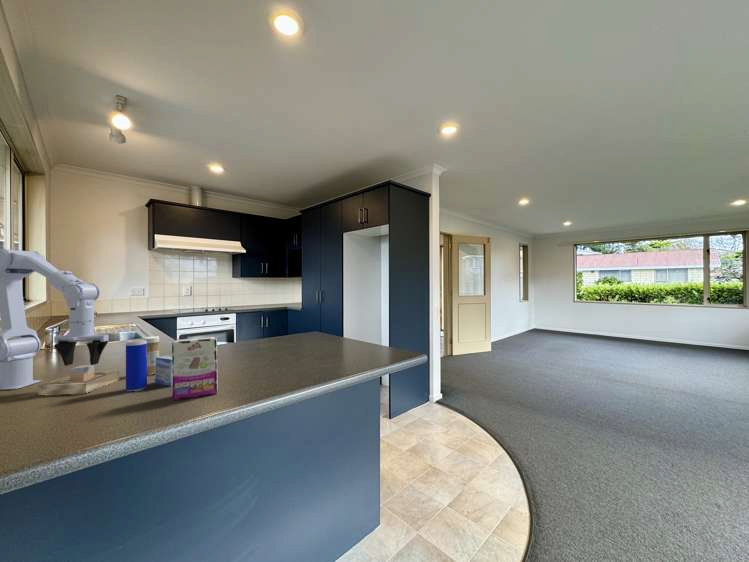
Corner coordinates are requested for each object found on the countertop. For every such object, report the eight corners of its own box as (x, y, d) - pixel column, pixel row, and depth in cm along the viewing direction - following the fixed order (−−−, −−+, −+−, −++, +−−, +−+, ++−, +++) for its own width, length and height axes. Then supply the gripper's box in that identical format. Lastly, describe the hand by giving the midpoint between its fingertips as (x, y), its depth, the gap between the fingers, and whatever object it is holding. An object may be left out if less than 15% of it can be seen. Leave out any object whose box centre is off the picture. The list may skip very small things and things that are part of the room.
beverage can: (150, 387, 95) (150, 339, 95) (133, 393, 90) (133, 342, 91) (139, 385, 97) (139, 338, 97) (121, 391, 92) (121, 341, 92)
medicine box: (154, 384, 99) (154, 357, 99) (168, 380, 103) (168, 354, 103) (171, 387, 96) (171, 359, 96) (184, 382, 100) (184, 356, 100)
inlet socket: (58, 390, 92) (58, 382, 92) (79, 382, 99) (79, 375, 99) (84, 389, 93) (84, 381, 93) (103, 382, 100) (103, 374, 100)
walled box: (38, 395, 89) (38, 385, 89) (77, 381, 102) (77, 372, 102) (86, 393, 90) (86, 383, 90) (119, 380, 103) (119, 371, 103)
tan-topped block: (69, 388, 94) (69, 368, 94) (81, 384, 98) (81, 365, 98) (83, 387, 94) (83, 368, 94) (94, 383, 98) (94, 365, 98)
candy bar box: (218, 389, 93) (217, 335, 93) (217, 394, 89) (217, 338, 89) (174, 395, 88) (174, 338, 88) (171, 401, 84) (171, 341, 84)
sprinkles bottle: (158, 371, 113) (158, 335, 113) (159, 374, 110) (159, 337, 110) (143, 373, 110) (143, 336, 111) (144, 376, 107) (144, 338, 107)
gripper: (44, 323, 92) (44, 368, 91) (95, 322, 93) (95, 367, 93) (66, 320, 99) (65, 362, 99) (113, 320, 100) (113, 361, 100)
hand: (81, 364), depth 96 cm, fingers open, 7 cm apart
